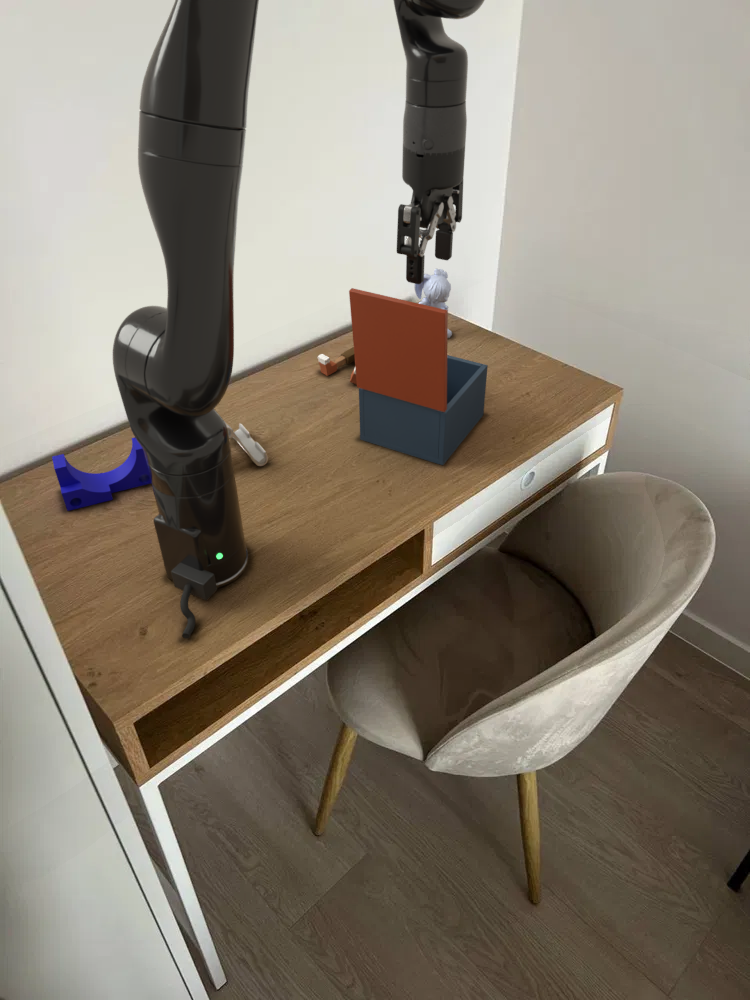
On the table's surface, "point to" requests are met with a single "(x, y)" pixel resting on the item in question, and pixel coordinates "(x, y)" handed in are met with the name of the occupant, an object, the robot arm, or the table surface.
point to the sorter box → (427, 415)
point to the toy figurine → (435, 291)
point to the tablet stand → (249, 445)
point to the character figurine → (338, 363)
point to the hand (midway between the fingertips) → (429, 270)
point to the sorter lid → (400, 348)
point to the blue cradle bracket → (100, 479)
